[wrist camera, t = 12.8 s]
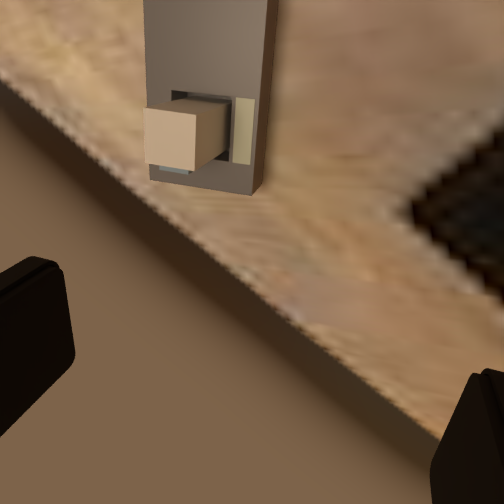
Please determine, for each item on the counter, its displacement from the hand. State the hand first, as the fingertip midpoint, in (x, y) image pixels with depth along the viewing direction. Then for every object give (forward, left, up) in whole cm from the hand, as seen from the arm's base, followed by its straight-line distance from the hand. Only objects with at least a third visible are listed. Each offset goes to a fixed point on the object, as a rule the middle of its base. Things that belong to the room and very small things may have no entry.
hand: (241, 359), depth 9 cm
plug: (+11, 0, -31) cm, 33 cm away
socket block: (+11, -6, -31) cm, 34 cm away
